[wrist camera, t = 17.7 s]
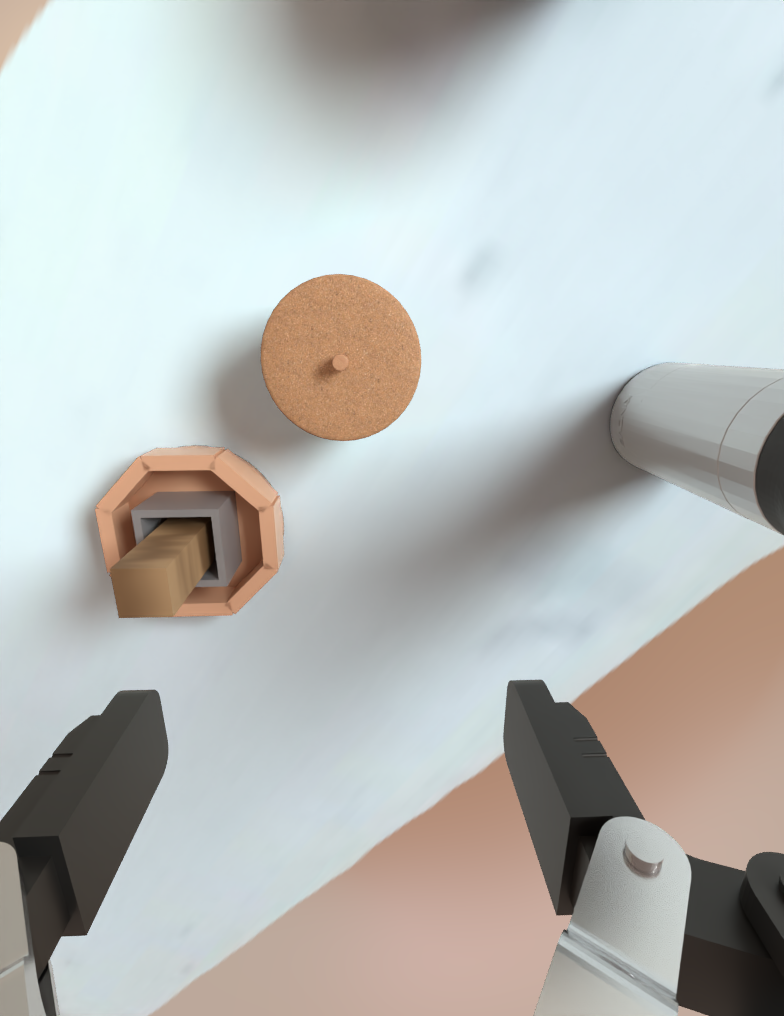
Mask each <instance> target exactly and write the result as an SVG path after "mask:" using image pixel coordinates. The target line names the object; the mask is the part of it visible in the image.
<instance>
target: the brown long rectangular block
mask: <svg viewBox="0 0 784 1016" xmlns="http://www.w3.org/2000/svg"><path fill="white" fill-rule="evenodd" d="M215 558H216V553H215V545H214V536H213V528H212V520H211V517H169V518H168V519H167V520H166V521H164V522H163V523H162V524H161V525H160V526H159V527H157V528H156V529H155V530H154V531H153V532H152V533H151V534H149V535H148V536H147V537H146V538H145V539H144V540H142V541H141V542H140V543H139V544H138V545H137V546H136V547H134V548H133V549H132V550H131V551H130V552H129V553H127V554H126V555H125V556H124V557H123V558H122V559H121V560H119V561H118V562H117V563H116V564H115V565H114V566H112V567H111V568H110V573H111V578H112V584H113V589H114V594H115V599H116V605H117V610H118V615H119V618H136V617H174V615H175V614H176V613H177V611H178V610H179V608H180V607H181V606H182V604H183V603H184V601H185V600H186V599H187V597H188V596H189V594H190V593H191V592H192V590H193V589H194V587H195V586H196V585H197V583H198V582H199V581H200V579H201V578H202V576H203V575H204V574H205V572H206V571H207V569H208V568H209V567H210V565H211V564H212V562H213V561H214V560H215Z"/></svg>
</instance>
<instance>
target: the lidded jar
mask: <svg viewBox="0 0 784 1016" xmlns="http://www.w3.org/2000/svg"><path fill="white" fill-rule="evenodd" d="M261 366H262V373H263V377H264V380H265V383H266V387H267V389H268V391H269V393H270V395H271V397H272V399H273V400H274V402H275V403H276V405H277V406H278V408H279V409H280V410H281V412H282V413H283V414H284V415H285V416H286V417H287V418H288V419H289V420H290V421H292V422H293V423H294V424H295V425H296V426H298V427H299V428H301V429H303V430H305V431H306V432H308V433H310V434H313V435H315V436H318V437H321V438H325V439H329V440H338V441H349V440H357V439H362V438H366V437H369V436H371V435H374V434H376V433H378V432H380V431H381V430H383V429H385V428H386V427H388V426H389V425H390V424H392V423H393V422H394V421H395V420H396V419H397V418H398V417H399V416H400V415H401V414H402V413H403V411H404V410H405V409H406V407H407V406H408V404H409V403H410V401H411V399H412V397H413V395H414V393H415V390H416V388H417V384H418V381H419V377H420V369H421V349H420V344H419V339H418V335H417V332H416V330H415V327H414V324H413V322H412V320H411V319H410V317H409V315H408V313H407V312H406V310H405V309H404V308H403V306H402V305H401V304H400V302H399V301H398V300H397V299H396V298H395V297H393V296H392V295H391V294H390V293H389V292H388V291H386V290H385V289H383V288H382V287H381V286H379V285H377V284H375V283H373V282H371V281H369V280H367V279H364V278H360V277H357V276H353V275H343V274H334V275H325V276H321V277H317V278H313V279H311V280H309V281H306V282H304V283H302V284H300V285H299V286H297V287H296V288H294V289H293V290H291V291H290V292H289V293H288V294H287V295H286V296H285V297H284V298H283V299H282V300H281V301H280V302H279V303H278V305H277V306H276V307H275V309H274V310H273V312H272V314H271V316H270V318H269V320H268V321H267V324H266V327H265V330H264V333H263V338H262V344H261Z"/></svg>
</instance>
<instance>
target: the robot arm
mask: <svg viewBox="0 0 784 1016" xmlns="http://www.w3.org/2000/svg"><path fill="white" fill-rule="evenodd" d="M610 432H611V437H612V441H613V443H614V446H615V448H616V450H617V451H618V452H619V454H620V455H621V456H622V458H624V459H625V460H626V461H627V462H629V463H630V464H632V465H634V466H636V467H638V468H640V469H643V470H645V471H647V472H649V473H651V474H653V475H655V476H657V477H659V478H661V479H663V480H665V481H667V482H670V483H672V484H674V485H676V486H678V487H680V488H683V489H685V490H687V491H689V492H691V493H693V494H695V495H698V496H700V497H702V498H704V499H706V500H708V501H711V502H713V503H715V504H717V505H719V506H721V507H723V508H726V509H728V510H730V511H732V512H734V513H736V514H738V515H741V516H743V517H745V518H747V519H750V520H752V521H754V522H756V523H758V524H761V525H763V526H765V527H767V528H769V529H771V530H773V531H776V532H778V533H780V534H782V535H784V370H782V369H767V368H752V367H736V366H721V365H708V364H692V363H663V364H658V365H654V366H652V367H650V368H647V369H645V370H643V371H642V372H640V373H639V374H638V375H636V376H635V377H633V378H632V379H631V380H630V381H629V382H628V383H627V384H626V385H625V387H624V388H623V390H622V391H621V392H620V394H619V395H618V397H617V399H616V402H615V404H614V406H613V410H612V414H611V418H610ZM503 739H504V751H505V757H506V761H507V765H508V768H509V771H510V774H511V777H512V780H513V783H514V786H515V789H516V793H517V796H518V799H519V802H520V805H521V808H522V811H523V814H524V817H525V820H526V823H527V826H528V829H529V832H530V836H531V839H532V842H533V845H534V848H535V851H536V854H537V857H538V860H539V863H540V866H541V869H542V872H543V875H544V878H545V881H546V885H547V888H548V891H549V893H550V897H551V899H552V903H553V906H554V909H555V912H556V915H572V918H571V921H570V924H569V926H568V929H567V931H566V930H563V932H562V934H561V936H560V939H559V942H558V945H557V947H556V950H555V953H554V956H553V959H552V962H551V965H550V968H549V971H548V974H547V977H546V980H545V983H544V986H543V989H542V992H541V994H540V997H539V1001H538V1003H537V1007H536V1009H535V1012H534V1016H678V1005H679V1006H682V1007H685V1008H688V1009H691V1010H694V1011H697V1012H700V1013H702V1014H705V1015H709V1016H784V854H781V853H774V852H763V853H759V854H756V855H755V856H753V857H752V858H751V859H750V860H749V862H748V865H747V868H746V871H742V870H738V869H734V868H731V867H727V866H723V865H719V864H715V863H711V862H707V861H704V860H700V859H697V858H694V857H692V856H689V855H687V854H685V853H684V851H683V850H682V848H681V847H680V846H679V844H678V843H677V842H676V841H675V840H674V839H673V838H672V837H671V836H670V835H669V834H667V833H666V832H665V831H664V830H662V829H661V828H659V827H658V826H656V825H654V824H652V823H650V822H648V821H646V820H645V819H644V817H643V815H642V814H641V812H640V810H639V808H638V807H637V805H636V803H635V802H634V800H633V798H632V796H631V795H630V793H629V791H628V789H627V788H626V786H625V785H624V782H623V781H622V779H621V777H620V776H619V774H618V772H617V771H616V769H615V767H614V765H613V764H612V762H611V760H610V758H609V757H607V755H606V752H605V750H604V748H603V746H602V744H601V743H600V741H598V740H597V736H596V734H595V732H594V731H593V729H592V727H591V725H590V724H589V722H588V720H587V718H586V717H584V716H583V715H582V714H581V713H580V712H579V711H578V710H576V709H575V708H574V707H573V706H572V705H571V704H569V703H568V702H559V703H555V702H554V700H553V698H552V696H551V694H550V692H549V690H548V688H547V686H546V684H545V683H544V681H543V680H513V681H509V683H508V687H507V698H506V710H505V722H504V735H503ZM167 759H168V740H167V735H166V729H165V723H164V718H163V712H162V706H161V701H160V696H159V693H158V692H157V691H156V690H130V691H120V692H118V693H117V694H116V695H115V696H114V698H113V699H112V700H111V702H110V703H109V705H108V706H107V707H106V709H105V710H104V711H103V713H102V714H101V715H97V716H90V717H89V718H88V719H87V720H85V721H84V722H83V723H81V724H80V725H79V726H77V727H76V728H75V729H73V730H72V731H71V732H70V733H68V735H67V736H66V737H65V738H64V740H63V741H62V742H61V744H60V745H59V746H58V747H57V749H56V750H55V751H54V753H53V756H52V758H49V759H48V760H47V762H46V763H45V764H44V766H43V767H42V768H41V769H40V771H39V775H36V776H35V777H34V779H33V780H32V781H31V782H30V784H29V785H28V786H27V788H26V789H25V790H24V791H23V793H22V794H21V795H20V797H19V798H18V799H17V801H16V802H15V803H14V804H13V806H12V807H11V808H10V810H9V811H8V812H7V813H6V815H5V816H4V817H3V819H2V820H1V821H0V1016H60V1012H59V1006H58V1000H57V993H56V987H55V981H54V974H53V968H52V964H51V961H50V957H51V955H52V953H53V951H54V949H55V948H56V946H57V944H58V942H59V940H60V938H61V936H83V935H87V933H88V931H89V929H90V927H91V925H92V923H93V921H94V918H95V916H96V914H97V912H98V910H99V908H100V906H101V904H102V902H103V900H104V898H105V895H106V893H107V891H108V889H109V887H110V885H111V883H112V881H113V879H114V877H115V875H116V872H117V870H118V868H119V866H120V864H121V862H122V860H123V858H124V856H125V854H126V852H127V850H128V847H129V845H130V843H131V841H132V839H133V837H134V835H135V833H136V831H137V829H138V827H139V824H140V822H141V820H142V818H143V816H144V814H145V812H146V810H147V808H148V806H149V804H150V801H151V799H152V797H153V795H154V793H155V791H156V789H157V787H158V785H159V783H160V781H161V778H162V776H163V774H164V771H165V768H166V764H167Z"/></svg>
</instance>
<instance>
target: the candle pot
mask: <svg viewBox="0 0 784 1016" xmlns="http://www.w3.org/2000/svg"><path fill="white" fill-rule="evenodd" d="M277 494H278V492H277V491H276V490H275V489H273V488H272V486H271V485H270V483H269V482H268V481H267V479H266V478H265V477H264V476H263V475H262V474H261V473H260V472H259V471H258V470H257V469H256V468H255V467H254V466H252V465H251V464H250V463H249V462H247V461H246V460H244V459H242V458H241V457H239V456H237V455H235V454H233V453H232V452H231V451H230V450H229V449H226V450H225V448H224V447H209V446H198V445H192V446H182V447H177V448H156V449H154V450H152V451H149V452H147V453H145V454H143V455H141V456H139V457H138V458H137V459H136V460H135V461H134V462H133V463H132V465H131V466H130V467H129V468H128V469H127V470H126V472H125V473H124V474H123V475H122V476H121V477H120V479H119V480H118V481H117V482H116V483H115V484H114V485H113V487H112V488H111V489H110V490H109V491H108V492H107V494H106V495H105V496H104V497H103V498H102V499H101V500H100V502H99V503H98V504H97V505H96V507H97V508H96V509H95V512H96V517H97V522H98V528H99V533H100V538H101V543H102V548H103V553H104V558H105V563H106V568H107V573H108V572H110V568H111V567H112V566H114V565H115V564H116V563H117V562H118V561H119V560H121V559H122V558H123V557H124V556H125V555H126V554H127V553H129V552H130V551H131V550H132V549H133V548H134V547H136V546H137V545H138V544H139V543H140V542H141V541H142V540H144V539H145V538H146V537H147V536H148V535H149V534H151V533H152V532H153V531H154V530H155V529H156V528H157V527H159V526H160V525H161V524H162V523H163V522H164V521H166V520H167V519H168V518H169V517H211V520H212V528H213V536H214V545H215V553H216V558H215V560H214V561H213V562H212V564H211V565H210V567H209V568H208V569H207V571H206V572H205V574H204V575H203V576H202V578H201V579H200V581H199V582H198V583H197V585H196V586H195V587H194V589H193V590H192V592H191V593H190V594H189V596H188V597H187V599H186V600H185V601H184V603H183V604H182V606H181V607H180V608H179V610H178V611H177V613H176V614H175V615H174V617H179V616H222V615H233V613H234V614H236V613H237V612H238V611H239V610H240V609H241V608H242V607H243V606H244V605H245V604H246V603H247V602H248V601H249V600H250V599H251V598H252V597H253V596H254V595H255V594H256V593H257V592H258V591H259V590H260V589H261V588H262V587H263V586H264V585H265V584H266V583H267V582H268V581H269V580H270V579H271V578H272V577H273V576H274V575H275V574H276V573H277V572H278V569H279V567H280V564H281V562H282V559H283V557H284V544H283V535H284V519H283V512H282V509H281V504H280V496H277ZM109 576H111V574H110V575H109Z"/></svg>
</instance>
